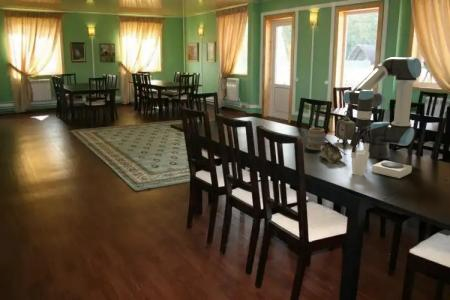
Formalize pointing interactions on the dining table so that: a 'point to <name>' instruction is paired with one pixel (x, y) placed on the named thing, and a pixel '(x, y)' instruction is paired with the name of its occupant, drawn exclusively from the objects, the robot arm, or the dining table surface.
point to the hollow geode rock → (331, 152)
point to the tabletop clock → (345, 129)
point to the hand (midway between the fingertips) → (359, 156)
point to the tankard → (315, 138)
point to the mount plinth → (391, 169)
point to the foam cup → (360, 162)
